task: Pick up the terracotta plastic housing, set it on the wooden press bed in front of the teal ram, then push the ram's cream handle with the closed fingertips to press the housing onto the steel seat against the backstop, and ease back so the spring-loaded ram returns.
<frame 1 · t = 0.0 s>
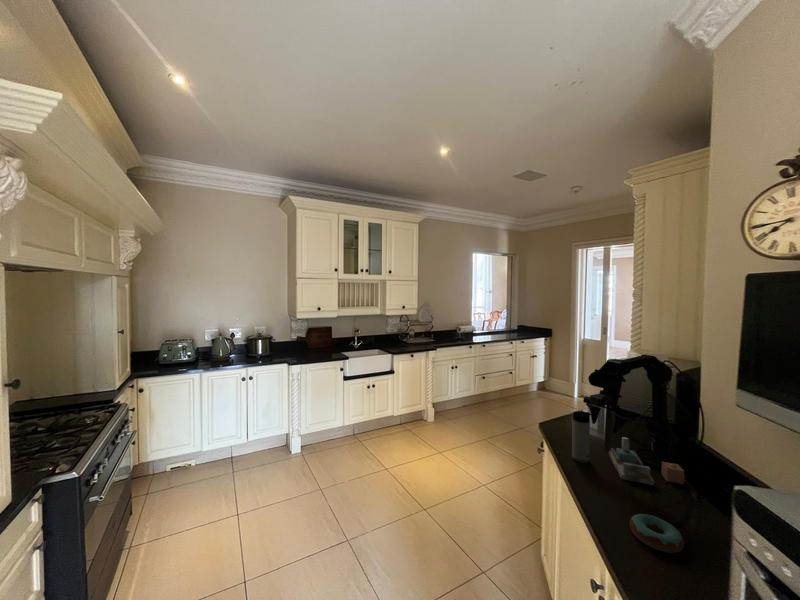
hand: (603, 428, 125), 15 cm above the countertop, tool pointing down, fingers open, 9 cm apart
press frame: (629, 468, 124), on the countertop
travel mug: (580, 459, 130), on the countertop
housing: (672, 479, 117), on the countertop
ram: (626, 449, 128), point 6 cm above the countertop, slide at 0.0 cm
donut: (655, 540, 88), on the countertop
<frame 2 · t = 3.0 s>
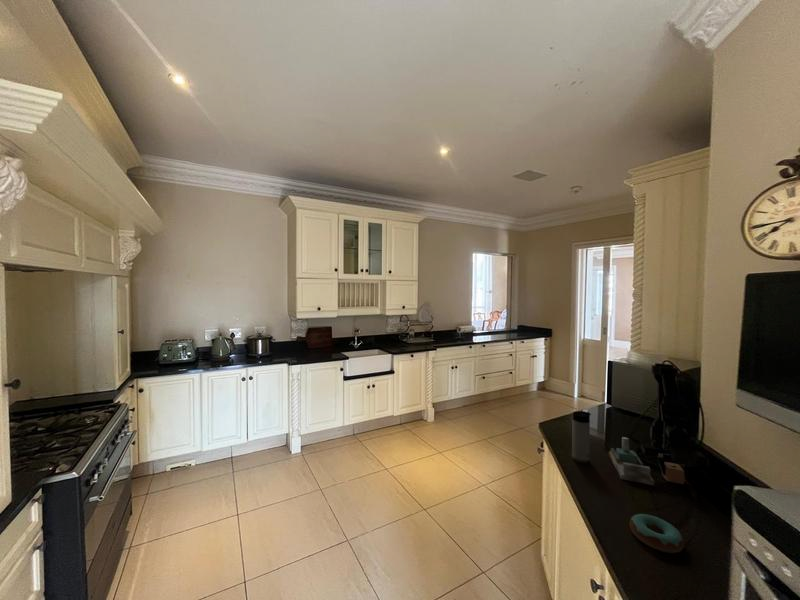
hand: (672, 476, 117), 1 cm above the countertop, tool pointing down, fingers closed on housing, 5 cm apart
housing: (672, 479, 117), on the countertop, touching gripper
everything else where it was.
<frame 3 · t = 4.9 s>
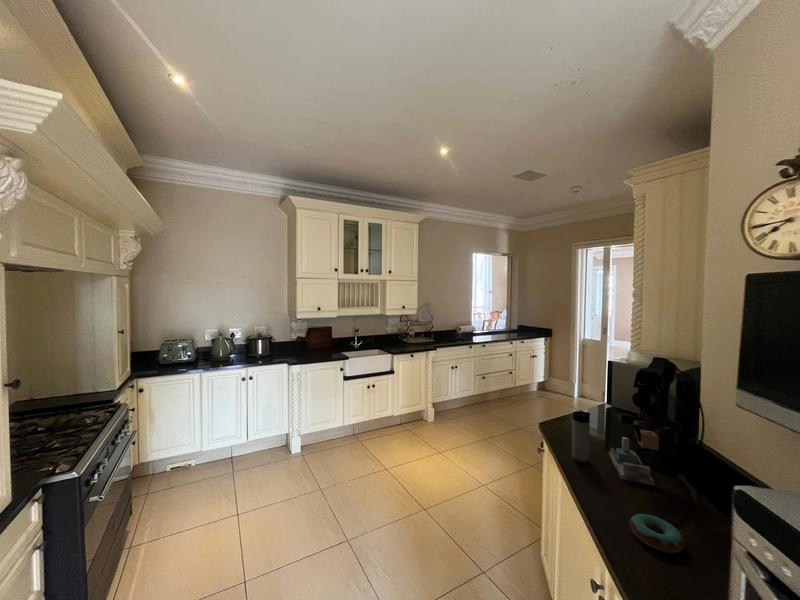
hand: (647, 443, 120), 12 cm above the countertop, tool pointing down, fingers closed on housing, 5 cm apart
housing: (647, 445, 120), point 11 cm above the countertop, touching gripper
everything else where it was.
when the fingers open (3 cm above the countertop, at t = 7.2 s): housing stays where it is, resting on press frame.
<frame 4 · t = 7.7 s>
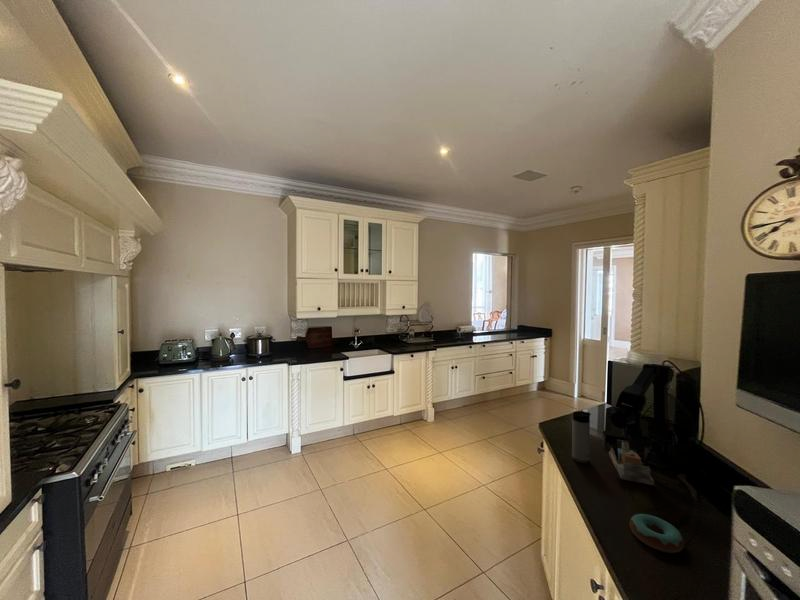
hand: (631, 462, 122), 3 cm above the countertop, tool pointing down, fingers open, 9 cm apart
housing: (631, 467, 122), point 1 cm above the countertop, touching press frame
everything else where it was.
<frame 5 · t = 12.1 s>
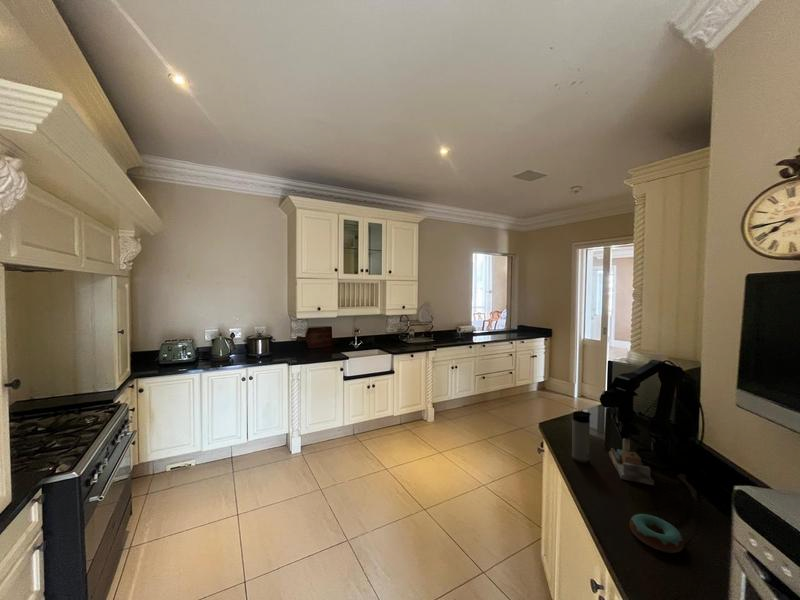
hand: (624, 442, 131), 7 cm above the countertop, tool pointing down, fingers closed
ram: (627, 450, 127), point 6 cm above the countertop, slide at 1.1 cm, touching gripper
everything else where it was.
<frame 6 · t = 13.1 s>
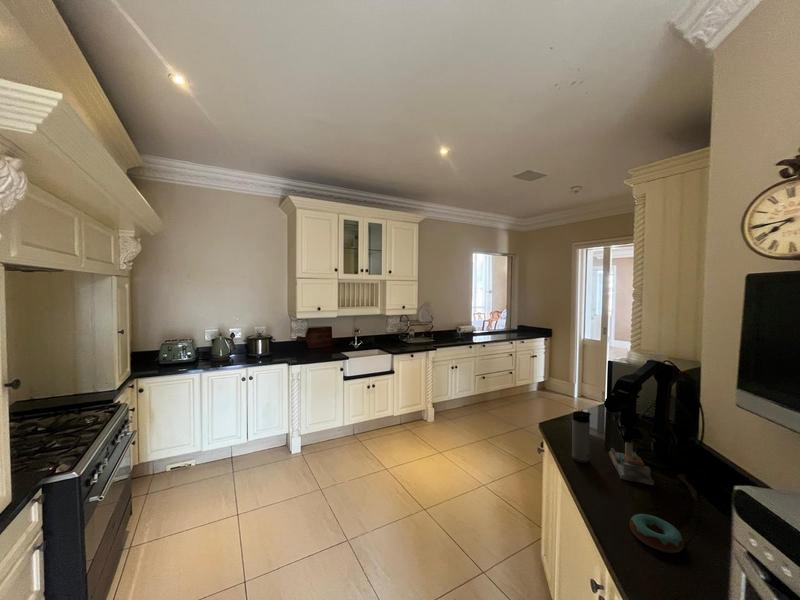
hand: (626, 446, 127), 7 cm above the countertop, tool pointing down, fingers closed
housing: (633, 471, 119), point 1 cm above the countertop, touching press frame, ram
ram: (629, 454, 124), point 6 cm above the countertop, slide at 4.6 cm, touching gripper, housing
everything else where it was.
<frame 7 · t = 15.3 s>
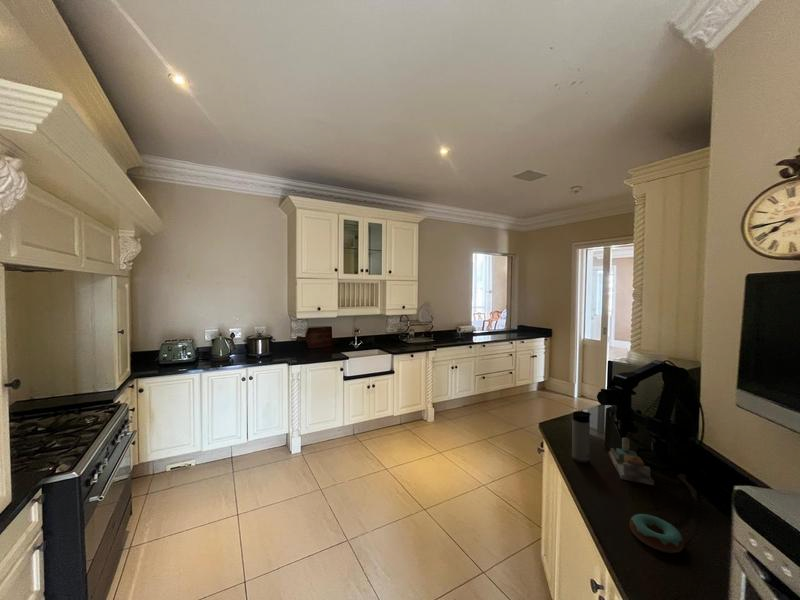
hand: (622, 440, 133), 7 cm above the countertop, tool pointing down, fingers closed
housing: (633, 471, 119), point 1 cm above the countertop, touching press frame
ram: (626, 449, 128), point 6 cm above the countertop, slide at 0.2 cm
everything else where it was.
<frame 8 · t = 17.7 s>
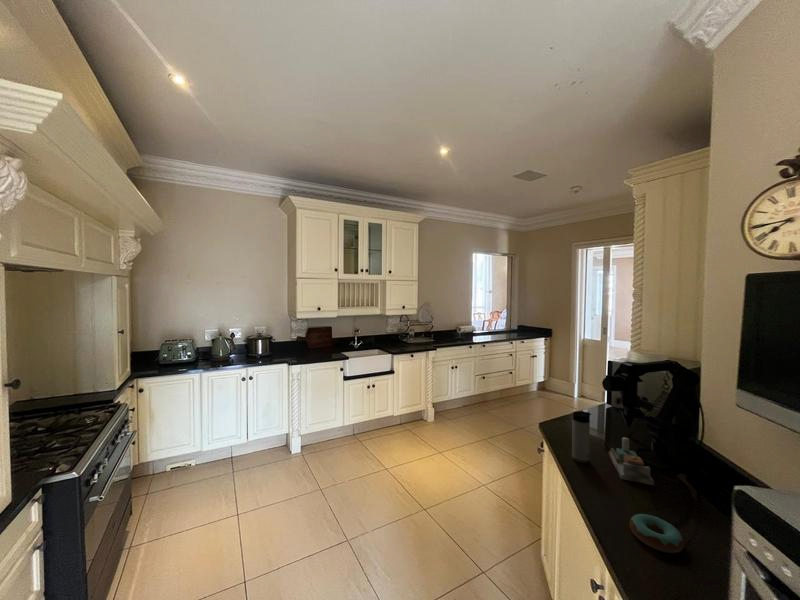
hand: (628, 426, 135), 12 cm above the countertop, tool pointing down, fingers closed
nothing on the countertop moved.
at the end: housing 0.0 cm from the target spot on the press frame, point 1.5 cm above the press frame's base; housing tilted 0°; ram slide at 0.2 cm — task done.
